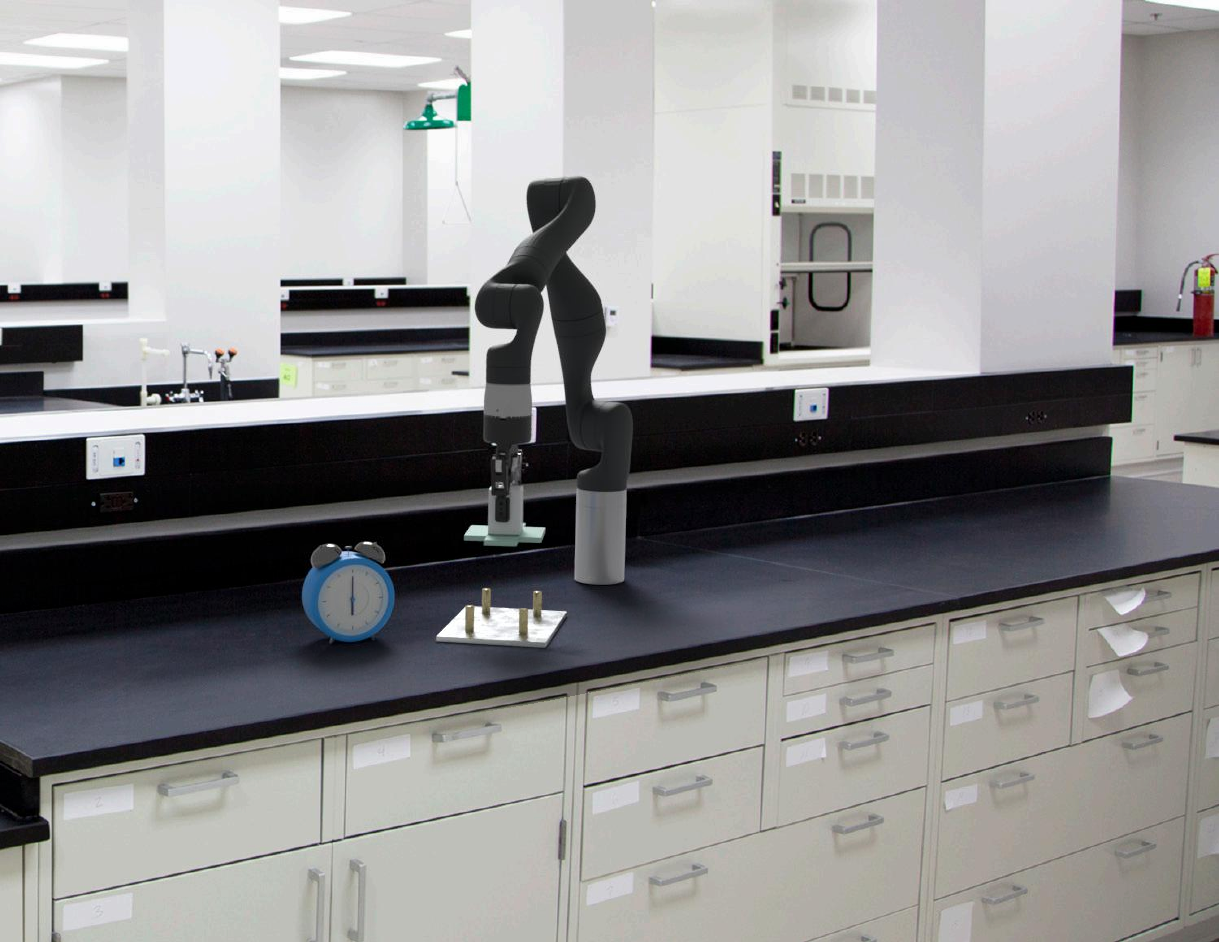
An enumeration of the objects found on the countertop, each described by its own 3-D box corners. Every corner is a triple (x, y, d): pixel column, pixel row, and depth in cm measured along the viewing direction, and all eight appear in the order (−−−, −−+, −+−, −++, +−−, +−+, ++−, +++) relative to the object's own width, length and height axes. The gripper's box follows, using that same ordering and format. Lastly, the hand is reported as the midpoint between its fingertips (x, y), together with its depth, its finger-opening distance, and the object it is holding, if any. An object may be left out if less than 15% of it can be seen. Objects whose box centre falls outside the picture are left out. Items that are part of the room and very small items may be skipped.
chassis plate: (466, 610, 252) (466, 582, 251) (566, 616, 250) (567, 587, 249) (436, 641, 231) (436, 610, 230) (545, 647, 229) (546, 616, 228)
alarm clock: (311, 647, 226) (311, 549, 224) (300, 637, 231) (300, 541, 229) (395, 639, 231) (395, 544, 229) (383, 630, 237) (383, 537, 235)
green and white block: (473, 526, 246) (474, 479, 245) (546, 528, 246) (547, 481, 245) (461, 544, 231) (461, 494, 230) (539, 547, 230) (540, 496, 229)
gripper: (493, 406, 243) (491, 510, 246) (474, 415, 229) (472, 525, 231) (539, 408, 242) (537, 512, 245) (522, 417, 228) (520, 527, 230)
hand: (505, 518), depth 238 cm, fingers closed on green and white block, 5 cm apart
